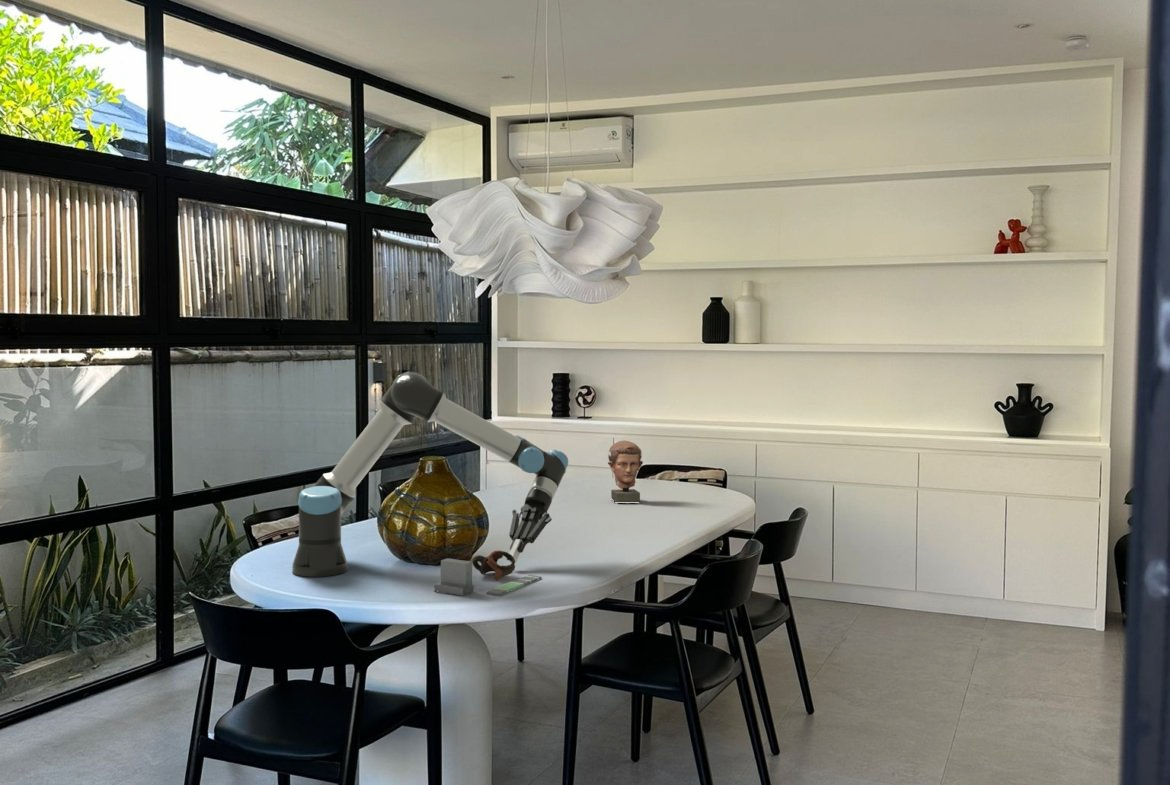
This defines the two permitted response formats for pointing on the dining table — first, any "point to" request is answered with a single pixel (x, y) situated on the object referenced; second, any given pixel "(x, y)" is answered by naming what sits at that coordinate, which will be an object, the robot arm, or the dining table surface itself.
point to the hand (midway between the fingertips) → (511, 560)
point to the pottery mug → (494, 564)
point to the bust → (625, 470)
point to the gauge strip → (513, 585)
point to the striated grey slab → (455, 577)
